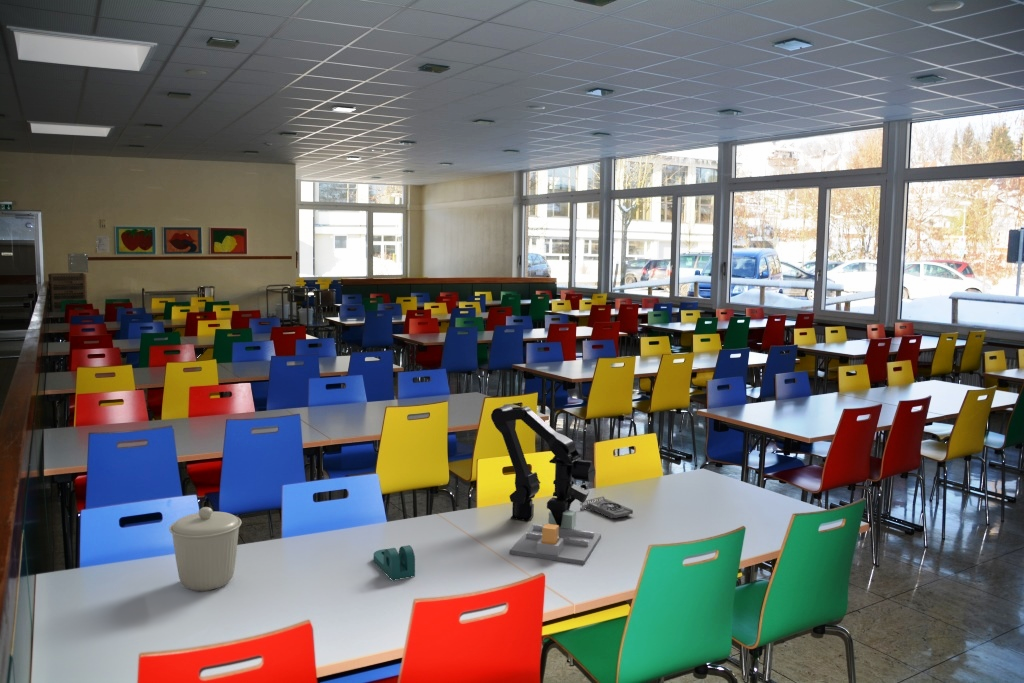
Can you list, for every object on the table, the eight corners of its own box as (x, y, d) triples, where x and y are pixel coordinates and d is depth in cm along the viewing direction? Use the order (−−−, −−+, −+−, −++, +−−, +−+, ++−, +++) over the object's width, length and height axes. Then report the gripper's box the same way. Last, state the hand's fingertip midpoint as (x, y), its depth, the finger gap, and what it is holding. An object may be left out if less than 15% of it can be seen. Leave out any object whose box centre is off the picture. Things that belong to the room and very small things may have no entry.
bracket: (414, 577, 223) (415, 549, 222) (392, 581, 219) (392, 553, 219) (391, 555, 238) (392, 529, 237) (370, 558, 235) (370, 533, 234)
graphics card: (578, 501, 284) (603, 494, 291) (577, 511, 284) (603, 504, 291) (610, 514, 270) (635, 508, 277) (609, 525, 271) (635, 518, 278)
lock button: (542, 543, 239) (542, 527, 239) (545, 539, 243) (546, 523, 243) (554, 545, 238) (555, 529, 238) (558, 541, 242) (558, 525, 241)
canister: (188, 568, 224) (186, 496, 222) (252, 571, 224) (251, 498, 221) (158, 596, 206) (156, 517, 204) (227, 598, 206) (225, 520, 204)
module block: (548, 526, 266) (548, 512, 265) (553, 522, 270) (553, 508, 270) (571, 530, 263) (572, 515, 262) (575, 525, 268) (576, 511, 267)
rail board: (509, 553, 241) (510, 540, 240) (532, 528, 263) (533, 515, 263) (584, 564, 234) (584, 550, 233) (601, 537, 256) (601, 524, 256)
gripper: (580, 487, 253) (579, 535, 255) (593, 472, 271) (591, 517, 273) (546, 483, 257) (545, 530, 259) (561, 469, 274) (560, 513, 276)
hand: (562, 522), depth 266 cm, fingers open, 8 cm apart
